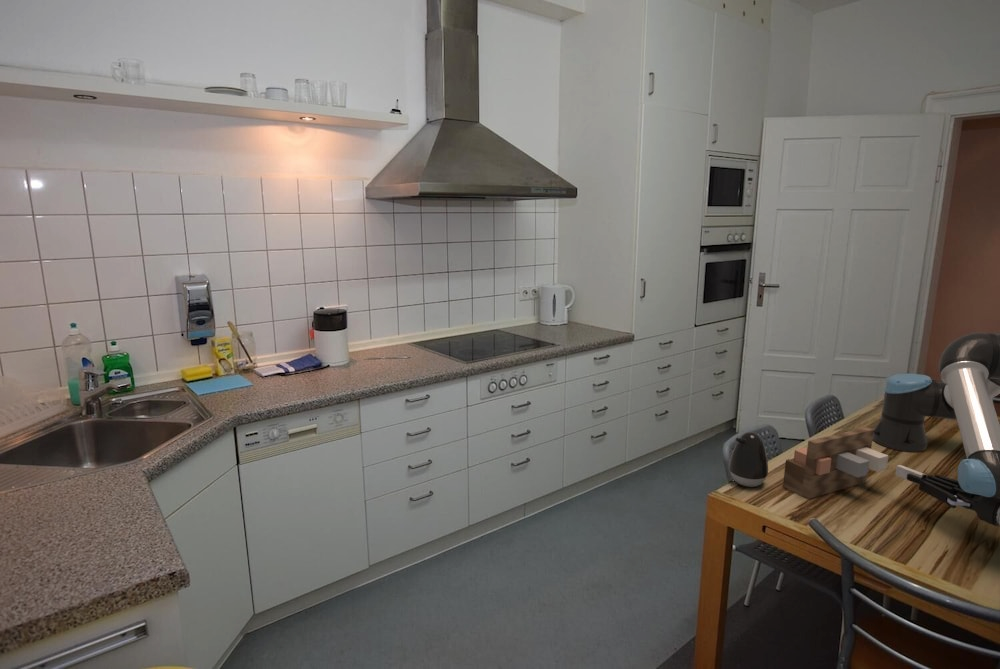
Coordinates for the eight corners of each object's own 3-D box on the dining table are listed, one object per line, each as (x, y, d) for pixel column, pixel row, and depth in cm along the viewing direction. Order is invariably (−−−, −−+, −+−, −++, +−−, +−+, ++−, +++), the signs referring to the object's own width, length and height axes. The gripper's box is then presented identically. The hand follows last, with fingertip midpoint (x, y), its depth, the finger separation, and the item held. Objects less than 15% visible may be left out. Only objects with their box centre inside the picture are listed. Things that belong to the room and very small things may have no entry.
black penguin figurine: (719, 478, 165) (723, 428, 162) (747, 472, 168) (752, 424, 165) (745, 494, 155) (750, 442, 152) (774, 487, 159) (780, 436, 156)
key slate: (839, 462, 159) (841, 449, 158) (867, 474, 151) (869, 460, 151) (829, 465, 157) (831, 452, 156) (857, 477, 150) (859, 463, 149)
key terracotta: (803, 460, 160) (804, 447, 159) (829, 472, 153) (831, 458, 152) (793, 463, 158) (794, 450, 157) (819, 475, 151) (821, 461, 150)
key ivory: (858, 457, 162) (859, 444, 161) (886, 469, 155) (888, 455, 154) (848, 460, 160) (850, 447, 159) (877, 472, 153) (879, 458, 152)
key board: (839, 470, 169) (846, 420, 166) (866, 482, 162) (873, 429, 159) (782, 486, 160) (788, 433, 156) (808, 499, 153) (815, 443, 149)
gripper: (986, 533, 127) (879, 487, 148) (1017, 520, 132) (910, 478, 153) (992, 503, 126) (884, 461, 147) (1023, 491, 131) (915, 452, 152)
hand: (897, 470), depth 150 cm, fingers closed
